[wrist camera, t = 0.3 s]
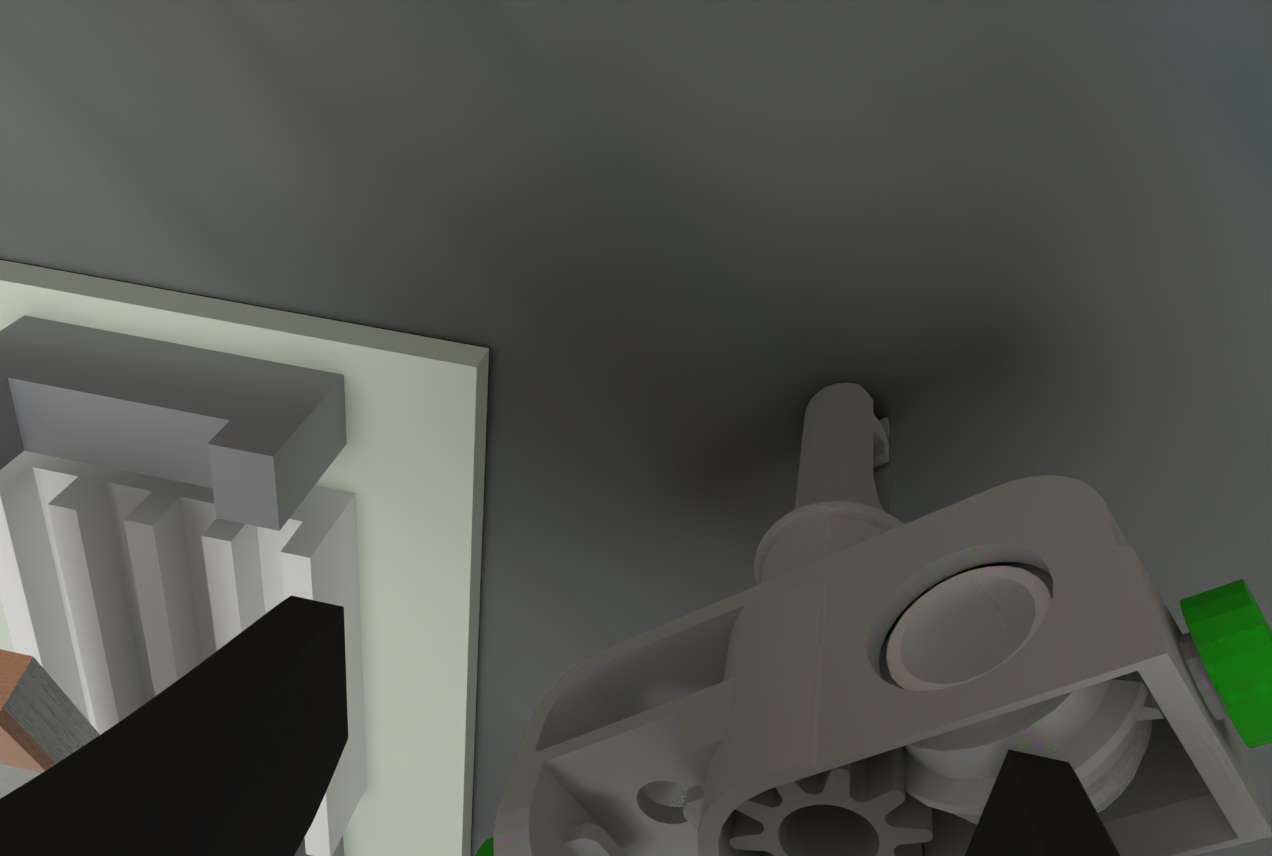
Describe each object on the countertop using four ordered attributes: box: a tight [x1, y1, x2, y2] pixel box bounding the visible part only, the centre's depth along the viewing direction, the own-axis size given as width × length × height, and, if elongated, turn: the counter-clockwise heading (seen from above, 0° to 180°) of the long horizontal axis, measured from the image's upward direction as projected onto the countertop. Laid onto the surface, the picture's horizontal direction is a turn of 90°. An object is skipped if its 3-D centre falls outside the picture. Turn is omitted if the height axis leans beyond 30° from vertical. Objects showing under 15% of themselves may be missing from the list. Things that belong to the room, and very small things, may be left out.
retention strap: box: [0, 649, 100, 798], centre depth 22 cm, size 14×4×1 cm, turn 174°
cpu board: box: [0, 260, 489, 856], centre depth 25 cm, size 18×12×4 cm, turn 174°
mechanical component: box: [476, 382, 1272, 856], centre depth 17 cm, size 3×10×10 cm, turn 124°
